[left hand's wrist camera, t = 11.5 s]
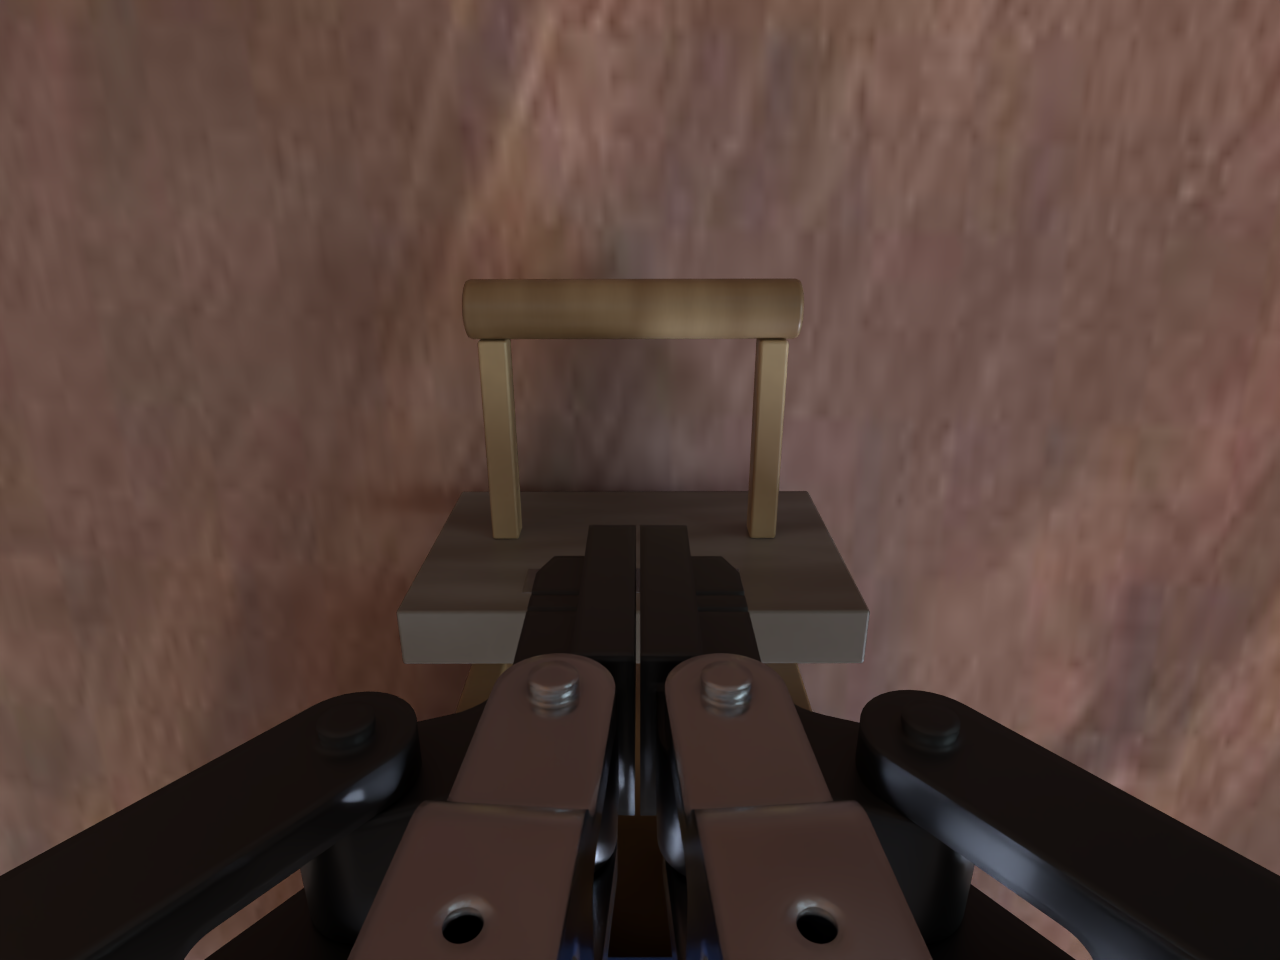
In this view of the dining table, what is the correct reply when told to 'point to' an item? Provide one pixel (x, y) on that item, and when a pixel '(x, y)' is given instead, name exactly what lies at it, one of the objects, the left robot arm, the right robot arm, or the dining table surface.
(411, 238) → the dining table surface
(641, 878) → the drawer
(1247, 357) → the dining table surface
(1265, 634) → the dining table surface
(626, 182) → the dining table surface
